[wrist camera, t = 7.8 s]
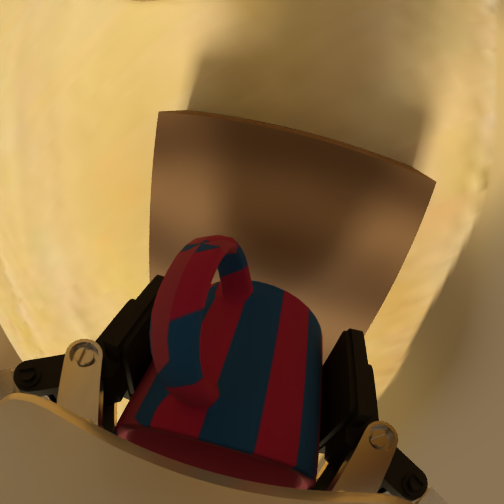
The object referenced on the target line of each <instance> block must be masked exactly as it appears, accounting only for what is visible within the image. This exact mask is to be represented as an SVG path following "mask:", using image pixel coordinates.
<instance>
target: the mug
mask: <svg viewBox="0 0 504 504" xmlns="http://www.w3.org/2000/svg"><path fill="white" fill-rule="evenodd" d="M217 269H218V272H219V277H220V282H215V283H213V284H211V282H212V279H213V277H214V274H215V272H216V270H217ZM149 335H150V348H151V354H152V358H153V360H152V362H151V363H150V365H149V367H148V369H147V370H146V372H145V374H144V376H143V377H142V379H141V381H140V383H139V385H138V386H137V388H136V390H135V392H134V393H133V395H132V397H131V399H130V401H129V402H128V404H127V406H126V408H125V410H124V412H123V413H122V415H121V417H120V419H119V421H118V423H117V424H116V426H115V428H114V430H115V433H116V435H117V436H119V437H121V438H123V439H125V440H127V441H129V442H131V443H133V444H136V445H138V446H140V447H142V448H145V449H147V450H150V451H152V452H155V453H157V454H160V455H162V456H165V457H167V458H170V459H173V460H176V461H179V462H181V463H184V464H187V465H190V466H193V467H197V468H200V469H203V470H207V471H210V472H214V473H217V474H221V475H225V476H229V477H233V478H238V479H242V480H247V481H252V482H257V483H262V484H268V485H274V486H281V487H288V488H297V489H306V490H308V489H309V488H311V487H313V486H315V484H316V477H317V467H318V455H319V442H320V426H321V405H322V368H323V336H322V331H321V326H320V324H319V322H318V320H317V318H316V316H315V315H314V314H313V313H312V311H311V310H310V309H309V307H307V306H306V305H305V304H304V303H303V302H302V301H301V300H300V299H298V298H297V297H295V296H293V295H292V294H290V293H289V292H287V291H285V290H283V289H280V288H278V287H276V286H273V285H270V284H266V283H263V282H259V281H251V276H250V272H249V267H248V263H247V260H246V257H245V254H244V252H243V250H242V248H241V247H240V245H239V244H238V242H237V241H236V240H234V239H233V238H232V237H227V236H222V235H212V236H205V237H200V238H195V239H194V240H192V241H191V242H189V243H188V244H187V245H185V247H184V248H183V249H182V250H181V251H180V252H179V253H178V255H177V256H176V257H175V259H174V260H173V262H172V264H171V265H170V267H169V269H168V270H167V272H166V274H165V276H164V279H163V281H162V283H161V285H160V287H159V290H158V292H157V295H156V299H155V302H154V306H153V309H152V314H151V322H150V331H149Z"/></svg>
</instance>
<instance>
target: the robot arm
mask: <svg viewBox="0 0 504 504" xmlns="http://www.w3.org/2000/svg"><path fill="white" fill-rule="evenodd" d="M134 1H153V0H134ZM163 279H164V276H161V275H156V276H155V277H154V279H153V280H152V281H151V282H150V283H149V284H148V286H147V287H146V288H145V289H144V290H143V292H142V293H141V294H140V295H139V296H138V298H137V299H136V300H135V299H130V300H129V301H128V302H127V303H126V305H125V306H124V307H123V308H122V309H121V311H120V312H119V313H118V314H117V315H116V317H115V318H114V319H113V320H112V321H111V323H110V324H109V325H108V326H107V328H106V329H105V330H104V331H103V333H102V334H101V335H100V336H99V338H98V339H97V340H96V341H93V340H89V339H80V340H77V341H74V342H73V343H71V344H70V345H69V347H68V348H67V350H66V353H65V354H63V355H57V356H52V357H46V358H40V359H33V360H27V361H24V362H22V363H21V364H19V365H18V366H17V367H16V369H15V370H14V371H12V369H10V368H9V369H5V370H0V504H448V503H447V502H446V501H445V500H444V499H443V498H442V497H441V496H440V495H439V494H438V493H437V492H436V491H435V490H434V489H433V488H432V487H430V488H428V487H427V485H428V483H427V478H426V475H425V474H424V473H423V471H422V470H420V469H419V468H418V467H417V466H416V465H415V464H414V463H413V462H412V461H411V460H410V459H409V458H408V457H407V456H405V455H404V454H403V453H402V452H401V451H400V450H399V449H398V448H397V443H398V435H397V433H396V430H395V429H394V428H393V427H392V426H391V425H390V424H389V423H387V422H384V421H379V419H378V409H377V399H376V390H375V382H374V374H373V369H372V366H371V365H369V364H368V360H367V353H366V346H365V340H364V334H363V331H360V330H356V329H351V328H349V329H348V330H347V331H343V332H342V334H341V335H340V337H339V339H338V341H337V342H336V344H335V346H334V348H333V349H332V351H331V353H330V354H329V356H328V358H327V359H326V361H325V363H324V364H323V368H322V405H321V426H320V442H319V453H324V454H325V459H326V463H325V464H324V466H323V468H322V469H321V471H320V472H319V474H318V475H317V477H316V484H315V486H313V487H311V488H309V489H308V490H306V489H297V488H288V487H281V486H274V485H268V484H262V483H257V482H252V481H247V480H242V479H238V478H233V477H229V476H225V475H221V474H217V473H214V472H210V471H207V470H203V469H200V468H197V467H193V466H190V465H187V464H184V463H181V462H179V461H176V460H173V459H170V458H167V457H165V456H162V455H160V454H157V453H155V452H152V451H150V450H147V449H145V448H142V447H140V446H138V445H136V444H133V443H131V442H129V441H127V440H125V439H123V438H121V437H119V436H117V435H116V433H115V430H114V428H115V426H116V424H117V402H120V401H121V400H122V398H123V397H124V398H126V399H129V400H130V399H131V397H132V395H133V393H134V392H135V390H136V388H137V386H138V385H139V383H140V381H141V379H142V377H143V376H144V374H145V372H146V370H147V369H148V367H149V365H150V363H151V362H152V360H153V358H152V354H151V348H150V335H149V331H150V322H151V314H152V309H153V306H154V302H155V299H156V295H157V292H158V290H159V287H160V285H161V283H162V281H163Z"/></svg>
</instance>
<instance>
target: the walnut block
mask: <svg viewBox="0 0 504 504" xmlns="http://www.w3.org/2000/svg"><path fill="white" fill-rule="evenodd" d="M435 184H436V181H434V180H432V179H431V178H429V177H428V176H426V175H424V174H423V173H421V172H419V171H418V170H416V169H414V168H413V167H410V166H408V165H405V164H403V163H400V162H398V161H395V160H392V159H390V158H387V157H384V156H382V155H379V154H376V153H373V152H370V151H367V150H364V149H361V148H358V147H355V146H352V145H349V144H346V143H343V142H339V141H336V140H333V139H329V138H326V137H322V136H318V135H315V134H311V133H307V132H303V131H299V130H295V129H291V128H287V127H283V126H278V125H274V124H269V123H264V122H259V121H254V120H249V119H243V118H238V117H232V116H225V115H219V114H212V113H205V112H197V111H188V110H182V111H161V112H159V114H158V121H157V129H156V138H155V148H154V158H153V170H152V184H151V203H150V235H149V268H150V282H151V281H152V280H153V279H154V277H155V276H156V275H161V276H165V274H166V272H167V270H168V269H169V267H170V265H171V264H172V262H173V260H174V259H175V257H176V256H177V255H178V253H179V252H180V251H181V250H182V249H183V248H184V247H185V245H187V244H188V243H189V242H191V241H192V240H194V239H195V238H200V237H205V236H212V235H222V236H227V237H232V238H233V239H234V240H236V241H237V242H238V244H239V245H240V247H241V248H242V250H243V252H244V254H245V257H246V260H247V263H248V267H249V272H250V276H251V281H259V282H263V283H266V284H270V285H273V286H276V287H278V288H280V289H283V290H285V291H287V292H289V293H290V294H292V295H293V296H295V297H297V298H298V299H300V300H301V301H302V302H303V303H304V304H305V305H306V306H307V307H309V309H310V310H311V311H312V313H313V314H314V315H315V316H316V318H317V320H318V322H319V324H320V326H321V331H322V336H323V364H324V363H325V361H326V359H327V358H328V356H329V354H330V353H331V351H332V349H333V348H334V346H335V344H336V342H337V341H338V339H339V337H340V335H341V334H342V332H343V331H347V330H348V329H349V328H351V329H356V330H360V331H363V334H364V335H365V333H366V332H367V330H368V328H369V327H370V325H371V323H372V321H373V320H374V318H375V316H376V314H377V313H378V311H379V309H380V307H381V306H382V304H383V302H384V300H385V298H386V296H387V294H388V293H389V291H390V289H391V287H392V285H393V283H394V281H395V279H396V277H397V275H398V273H399V271H400V269H401V267H402V265H403V263H404V261H405V258H406V256H407V254H408V252H409V250H410V247H411V245H412V243H413V241H414V238H415V236H416V234H417V231H418V229H419V227H420V224H421V222H422V219H423V217H424V214H425V212H426V209H427V206H428V204H429V201H430V198H431V196H432V193H433V190H434V187H435ZM215 282H220V277H219V272H218V269H217V270H216V272H215V274H214V277H213V279H212V282H211V284H213V283H215Z"/></svg>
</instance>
